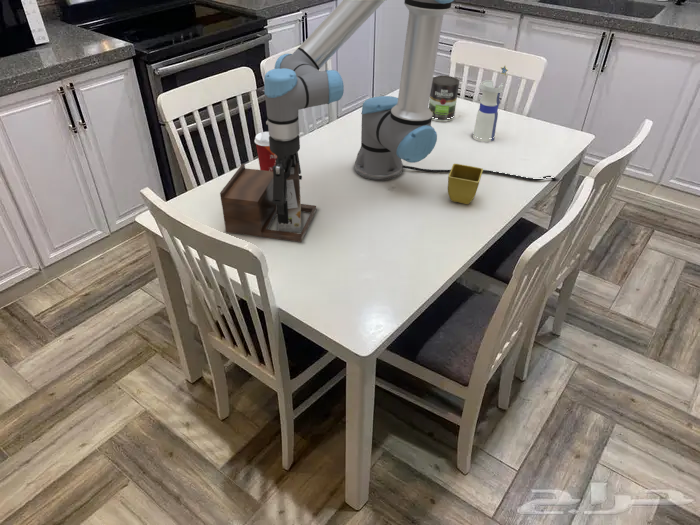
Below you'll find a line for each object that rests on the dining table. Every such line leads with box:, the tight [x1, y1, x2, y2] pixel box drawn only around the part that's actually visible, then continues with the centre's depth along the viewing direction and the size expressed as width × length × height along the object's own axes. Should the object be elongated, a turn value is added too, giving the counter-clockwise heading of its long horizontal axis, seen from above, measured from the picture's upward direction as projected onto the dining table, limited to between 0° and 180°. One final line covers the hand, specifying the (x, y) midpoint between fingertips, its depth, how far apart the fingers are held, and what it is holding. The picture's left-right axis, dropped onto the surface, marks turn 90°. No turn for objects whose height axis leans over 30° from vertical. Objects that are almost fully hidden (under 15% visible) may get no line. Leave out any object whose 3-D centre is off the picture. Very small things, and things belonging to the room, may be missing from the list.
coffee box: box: [275, 163, 302, 233], centre depth 143 cm, size 9×6×16 cm
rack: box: [219, 163, 317, 243], centre depth 145 cm, size 21×16×12 cm
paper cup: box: [254, 131, 277, 171], centre depth 163 cm, size 8×8×14 cm
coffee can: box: [428, 75, 460, 123], centre depth 202 cm, size 10×10×14 cm
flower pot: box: [447, 163, 484, 205], centre depth 156 cm, size 9×9×9 cm
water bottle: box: [472, 65, 509, 143], centre depth 185 cm, size 8×9×25 cm
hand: (289, 211), depth 145 cm, fingers closed on coffee box, 10 cm apart
